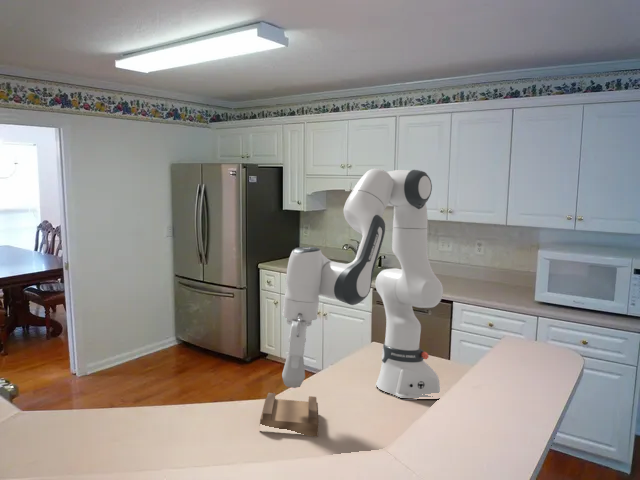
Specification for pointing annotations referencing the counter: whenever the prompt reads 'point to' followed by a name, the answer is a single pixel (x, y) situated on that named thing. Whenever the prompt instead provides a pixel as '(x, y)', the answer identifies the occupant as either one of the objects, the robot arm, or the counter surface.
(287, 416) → the display stand
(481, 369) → the counter surface
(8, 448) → the counter surface
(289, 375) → the salt shaker
